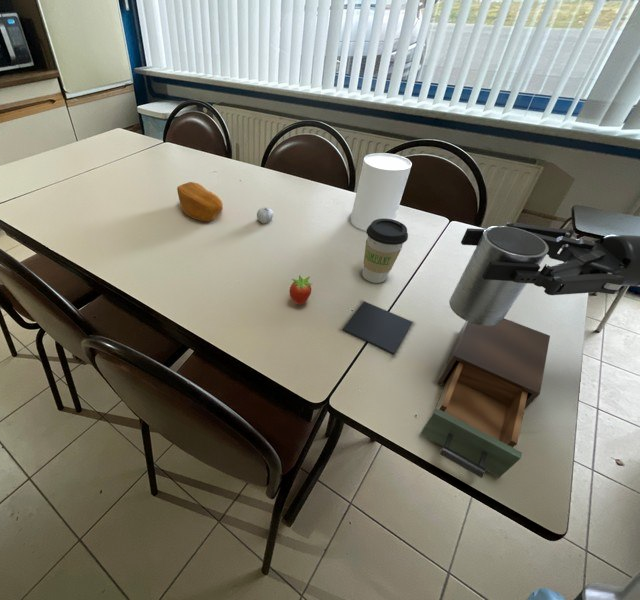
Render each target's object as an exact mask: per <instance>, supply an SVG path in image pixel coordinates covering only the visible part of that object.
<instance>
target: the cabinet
mask: <svg viewBox="0 0 640 600" xmlns="http://www.w3.org/2000/svg"><path fill="white" fill-rule="evenodd" d="M550 339H551V335H549V334H547V333H544V332H542V331H539V330H537V329H533V328H531V327H528V326H526V325H523V324H521V323H518V322H515V321H512V320H510V319H507V318H505V317H504V319H503V320H502V321H501V322H500V323H499V324H497V325H494V326H481V325H476V324H473V323H470V322H468V321H466V320H465V322H464V323H463V325H462V327H461V329H460V330H459V332H458V334H457V336H456V339H455V341H454V344H453V346H452V347H451V350H450V353H449V354H448V357H447V360H446V362H445V364H444V366H443V369H442V372H441V373H440V375H439V377H438V380H437V382H436V383H437V384H438V385H440V386H442V387H443V388H444V387H445V385H446V382H447V380H448V377H449V376H450V374H451V372H452V371H453V369H454V368H455V366H456V364H457V363H458V361H460V362H462V363H464V364H466V365H469V366H471V367H473V368H475V369H478V370H480V371H482V372H484V373H487V374H489V375H491V376H493V377H495V378H498V379H500V380H502V381H504V382H507V383H509V384H511V385H513V386H516V387H518V388H520V389H522V390H524V391H527V392H528V394H527V399H526V404H525V409H524V411H526V409H527V408H528V407H529V406H531V404H532V403H533V402H534V401H535V400H537V398H538V397H539V396H540V395H541V390H542V384H543V379H544V373H545V367H546V361H547V355H548V350H549V344H550Z"/></svg>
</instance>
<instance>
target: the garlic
mask: <svg viewBox="0 0 640 600" xmlns="http://www.w3.org/2000/svg"><path fill="white" fill-rule="evenodd" d="M273 218H274V211H273V210H272V209H271V208H269V207H264V206H263V207H260V208H259V209H258V210H257V212H256V219H257V220H258V221H259V222H260V223H262V224H267V223H270V222H271V221H272V220H273Z"/></svg>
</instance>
